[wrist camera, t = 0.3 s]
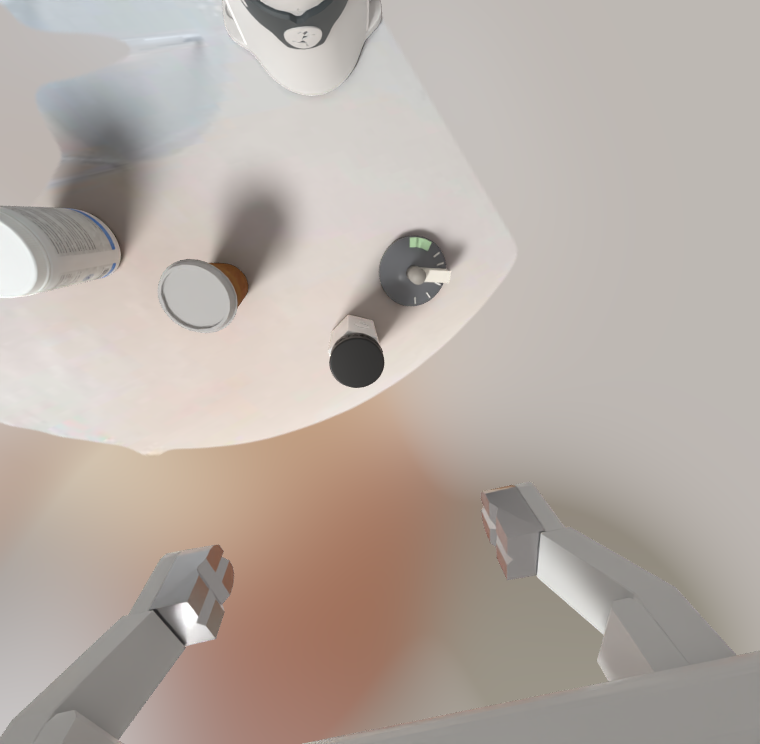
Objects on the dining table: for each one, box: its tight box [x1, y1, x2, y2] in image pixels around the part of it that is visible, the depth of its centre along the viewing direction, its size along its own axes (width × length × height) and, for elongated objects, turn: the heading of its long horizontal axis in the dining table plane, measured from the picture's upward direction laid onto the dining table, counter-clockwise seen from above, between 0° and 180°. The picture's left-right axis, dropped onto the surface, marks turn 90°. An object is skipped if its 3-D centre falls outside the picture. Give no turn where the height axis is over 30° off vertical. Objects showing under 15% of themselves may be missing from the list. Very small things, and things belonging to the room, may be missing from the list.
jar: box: [328, 315, 384, 388], centre depth 51 cm, size 9×8×12 cm
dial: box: [379, 236, 446, 306], centre depth 51 cm, size 11×11×1 cm
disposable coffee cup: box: [158, 259, 248, 333], centre depth 45 cm, size 10×10×12 cm
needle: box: [406, 265, 451, 285], centre depth 49 cm, size 6×2×4 cm, turn 87°
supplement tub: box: [0, 206, 121, 298], centre depth 40 cm, size 10×10×15 cm
